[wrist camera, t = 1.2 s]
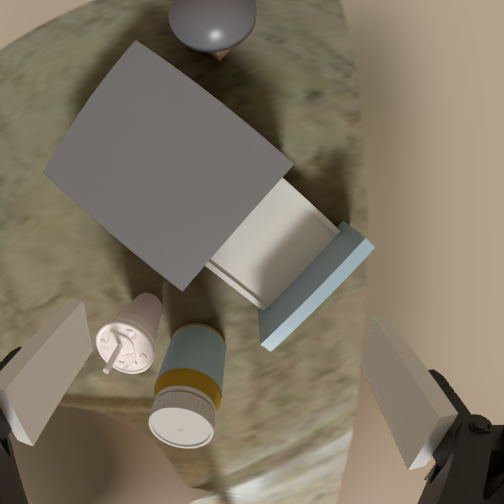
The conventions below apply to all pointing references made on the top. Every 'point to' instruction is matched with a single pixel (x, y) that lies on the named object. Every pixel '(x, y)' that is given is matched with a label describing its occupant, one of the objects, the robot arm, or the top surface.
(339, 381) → the top surface
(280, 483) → the top surface
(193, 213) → the housing
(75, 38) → the top surface
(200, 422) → the bottle
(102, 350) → the smoothie
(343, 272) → the light blue drawer
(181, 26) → the disc
